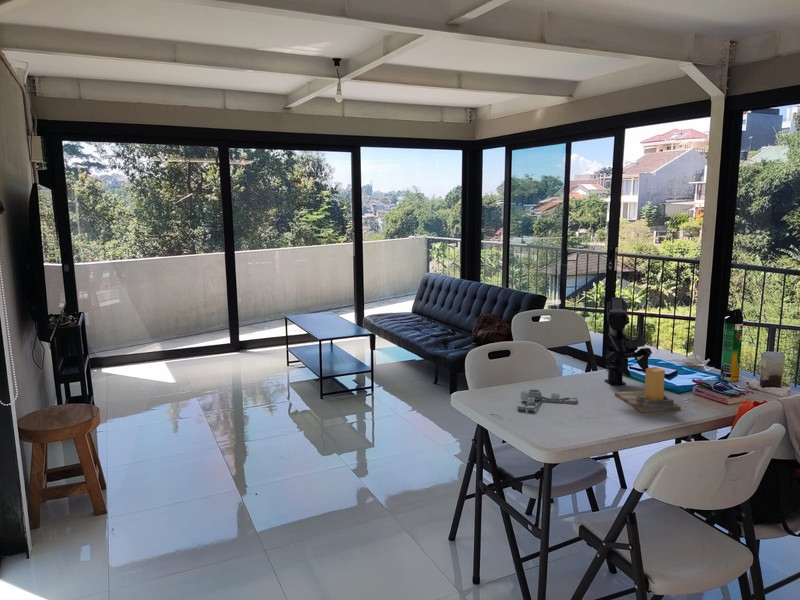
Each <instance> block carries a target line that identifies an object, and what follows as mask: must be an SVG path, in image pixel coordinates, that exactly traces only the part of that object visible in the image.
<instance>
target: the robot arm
mask: <svg viewBox="0 0 800 600" xmlns="http://www.w3.org/2000/svg"><path fill="white" fill-rule="evenodd" d="M610 299H611V300H609V301H607V303H606V314H607V318H606V322H607V323H606V325H608V326H609V328H608V332H607V334H608V336H609V339H611V342H610V344H611V345H608V347H607V351H606V354H605V356H604V370H607V379H604V382H606V383H607V384H609V385H611V386H617V385H618V386H620V385H626V384H627V383H626V382H625V381H623V380H624V379H623V378H624V377H623V375H625V376H627V377H628V378H631V377H632V375H631V372H630V370H629V359H633V358H634V360H636V364H637V365H638V366H639V368H641V370H642V371H643V372H644V373H645V374H646V368H650V366H649V358H650V357H651V355H652V354H653V351H652V350H651V348H650V347H645V345H646V344H647V340H646V337H644V335H641V336H637V337H636V338H630V337H628V336H627V334H626V333H625V332H626V326H628V324H630V317H629V315H628V303H627V302H626V301H625V300H624V298H623V297H611V298H610ZM639 348H640V349H639ZM638 349H639V350H638Z"/></svg>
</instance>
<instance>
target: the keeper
mask: <svg viewBox="0 0 800 600" xmlns="http://www.w3.org/2000/svg"><path fill="white" fill-rule="evenodd" d="M614 397H616V398H618V399H619V400H621V401H622V402H624V403H626V404H628V406H631V407H632V408H634V409H635V410H636V411H638V412H640V413H642V412H644V413H655V412H658V413H659V412H666V411H667V412H668V411H670V412H671V411H680V410H682V408H681V406H680V405H679V404H677V403H676V402H674V399H672V398H671V397H668V396H666V395H665V394H664V397H663V400H656V401H649V400H648V399H646V398H645V389H644V390H643V389H642V390H629V391H617V392H614Z"/></svg>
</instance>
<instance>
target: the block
mask: <svg viewBox="0 0 800 600" xmlns="http://www.w3.org/2000/svg"><path fill="white" fill-rule="evenodd" d="M665 372H666V371H665V369H662V368H661V367H656V366H654V367H649V368H646V373H645V380H644V381H645V383H644V390H645V398H646V399H648V400H649V401H656V400H663V397H664V395H665V392H664V391H665V374H666V373H665Z"/></svg>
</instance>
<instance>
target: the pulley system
mask: <svg viewBox="0 0 800 600" xmlns="http://www.w3.org/2000/svg"><path fill="white" fill-rule="evenodd" d="M550 395H551V396H550V398H549V397H546V396H543V395H542V391H541V390H539V389H534V388H533V389H528V391H524V390H523V391H520V400H522V401H526V403H524V404H517V405H516V409H517V410H519V411H521V410H522V411H531V412H533V411H535V410H537V408H538V407H539V406H540V403H541V404H542V403H552V402H558V403H559V404H572V405H574V404H575V403H576V404H578V398H577V397H576V396H573V395H571V396H567V397H563V398H560V394H559V393H555V392H554V393H551V394H550ZM543 398H545V399H543ZM540 399H541V400H540ZM547 399H548V400H547ZM565 399H566V400H565ZM535 400H536V401H537V400H539V402H538V401H537V402H538V403H537V404H536V401H535ZM560 400H562V401H560ZM558 403H557V404H558Z"/></svg>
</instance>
